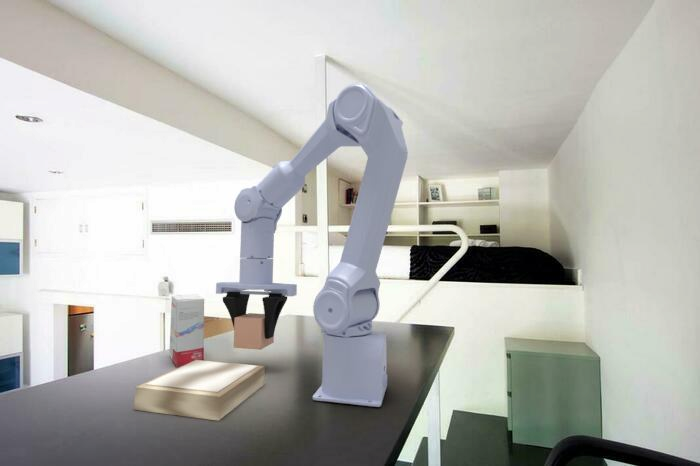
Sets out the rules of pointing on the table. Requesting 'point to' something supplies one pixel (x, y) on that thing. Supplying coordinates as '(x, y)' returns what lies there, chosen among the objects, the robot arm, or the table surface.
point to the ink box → (187, 329)
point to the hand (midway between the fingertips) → (254, 336)
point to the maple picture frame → (200, 389)
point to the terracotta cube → (250, 332)
